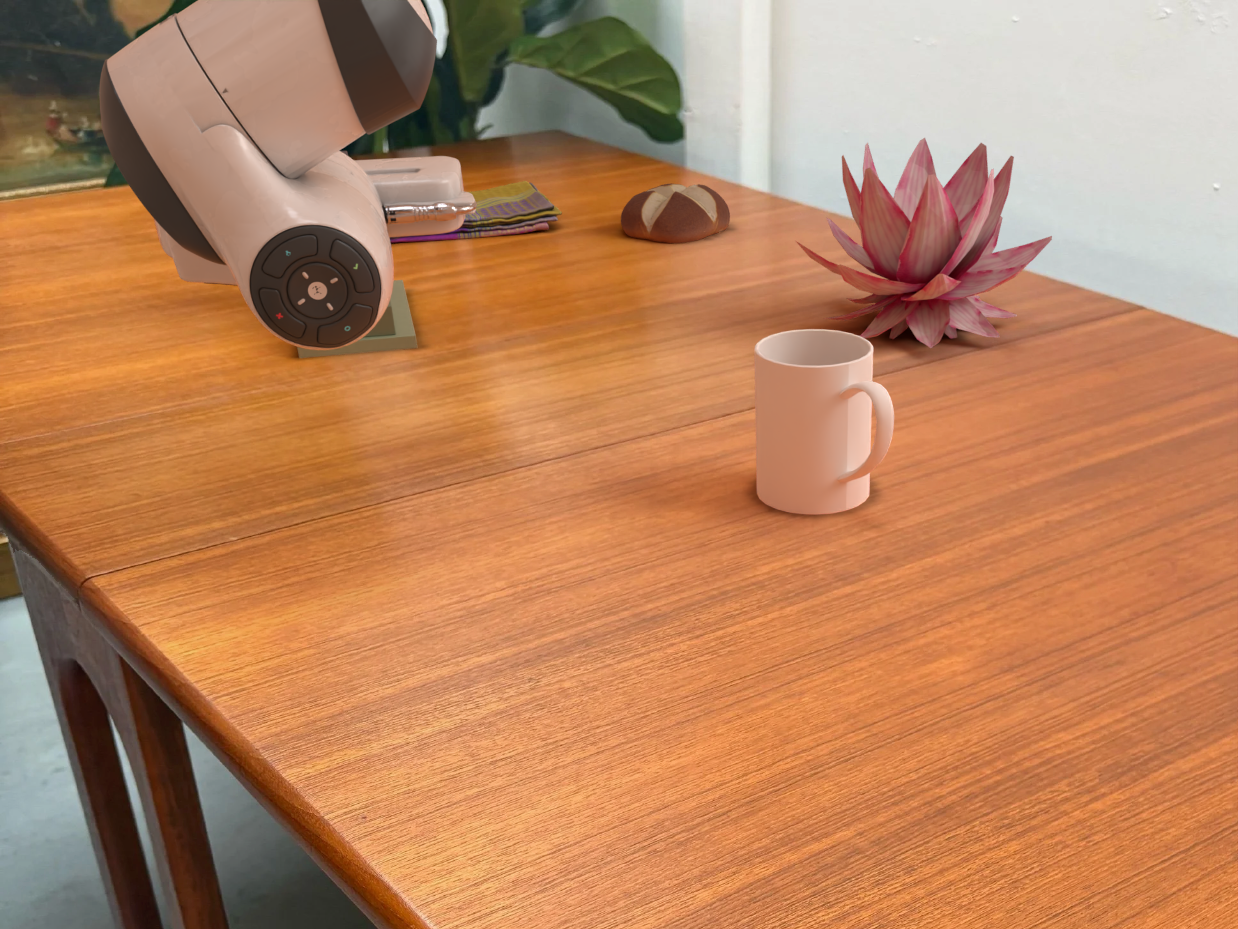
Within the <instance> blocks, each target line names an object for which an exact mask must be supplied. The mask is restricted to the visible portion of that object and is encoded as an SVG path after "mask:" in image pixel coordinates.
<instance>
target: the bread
mask: <svg viewBox="0 0 1238 929" xmlns="http://www.w3.org/2000/svg"><path fill="white" fill-rule="evenodd" d="M730 221H731V212H730V208H729V206H728V204H727V202H726V201H725V199H724V198H723V197H722V196H721V195H720V194H719V193H718V191H717V192H716V190H714V189H712V188H711V187H709V186H707V185H705V184H699V183H698V184H692V185H689V186H686V185H683V184H680V183H665V184H660V185H657V186H656V187H652V188H649V189H647V190H645V191H642V192H639V193H637V194H635V195H634V196H632V197H631V198H630V199H629V201H628V202H626V204H625V206H624V207H623V209H622V211H621V215H620V225H621V227H622V230H623V231H624V233H625V235H627V236H628V237H630V238H633V239H640V240H649V241H653V242H656V243H657V242H658V243H663V244H664V243H665V244H685V243H690V242H691V243H692V242H696V241H700V240H703V239H705V238H707V237H710V236H713V235H716V234H720V233H721V232H723V231H725V230H726V229H727V228H728V227H729V223H730Z"/></svg>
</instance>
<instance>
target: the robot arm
mask: <svg viewBox="0 0 1238 929" xmlns="http://www.w3.org/2000/svg"><path fill="white" fill-rule="evenodd" d="M437 46H438V39H437V38H436V36H435V35H434V30H433V27H432V24H431V20H430V18H429V15H428V13H427V11H426V8H425V7H424V3H423V2H422V0H196V1H195V2H193V3H192V4H190V5H188V6H187V7H186V8H184V9H183V10H181V11H179V12H178V13H176V12H174V13H173V14H171V15H169V16H168V17H166V18H165V19H164V20H163V21H161V22H158V23H157V24H156V25H154V26H153V27H151V28H150V29H148V30H147V31H145V32H143V33H142V34H141V35H140V36H138V37H137V38H135V39H134V40H132V41H131V42H129V43H128V44H127V45H125V46H124V47H122V48H121V49H120V50H119V51H117V52H116V53H114V54H113V55H112V56H110V57H109V58H106V59H105V60H104V62H103V65H102V69H101V73H100V79H99V92H98V94H99V111H100V122H101V130H102V133H103V137H104V140H105V143H106V146H107V148H108V150H109V153H110V155H111V157H112V158H113V161H114V163H115V165H116V166H117V168H118V170H119V172H120V173H121V176H122V177H123V178H124V180H125V182H126V183H127V185H128V186H129V188H130V189H131V190H132V192H133V193H134V195H135V196H136V198H137V200H139V202H140V203H141V204H142V206H143V207H144V208H145V209H146V211H147V212H148V213H149V215H150V216H151V217H152V218H153V221H154V225H155V229H156V230H155V231H156V234H157V237H158V241H159V244H160V246H161V248H162V251H163V252H164V253H165V255H167V256H168V257H169V258H172V260H173V263H174V266H175V268H176V271H177V274H178V276H179V279H181V280H182V281H184V282H187V283H199V284H207V285H208V284H209V285H210V284H211V285H224V286H236V287H238V289H239V292H240V294H241V296H242V298H243V300H244V302H245V303H246V305H247V307H248V308H249V310H250V311H251V313H252V314H253V315H254V317H255V318H256V320H257V321H258V322H259V323H260V325H262V326H263V328H265V330H267V331H268V332H269V333H270V334H271V335H273V336H275V337H276V338H277V339H279V340H281V341H283V342H284V343H287V344H289V345H291V346H294V347H296V348H297V347H300V348H304V349H310V350H330V349H336V348H341V347H344V346H347V345H350V344H352V343H354V342H356V341H358V340H360V339H361V338H363V337H364V336H365V335H367V334H368V333H369V332H370V331H371V330H372V329H373V328H374V327H375V325H376V324H377V323H378V321H379V320H380V319H381V317H382V316H383V314H384V312H385V310H386V308H387V306H388V304H389V301H390V298H391V294H392V290H393V281H394V280H395V268H394V266H395V264H394V255H393V254H394V253H393V248H392V247H393V246H392V243H391V242H390V238H389V237H401V236H417V235H433V234H441V233H447V232H452V231H455V230H457V229H459V228H460V227H461V226H462V224H463V222H464V220H465V216H466V214H473V213H475V211H476V207H477V203H476V201H475V199H474V197H473V195H472V194H471V193H469V192H470V191H465V188H464V181H463V174H462V167H461V166H462V165H461V162H460V160H459V159H457V158H455V157H452V156H446V155H435V156H434V155H433V156H416V157H396V158H395V157H394V158H375V159H374V158H373V159H357V160H355V159H352V157H350V156H349V155H348V156H347V155H346V154H344V153H342V152H341V151H342V149H344V148H346V147H347V146H349V145H350V144H352V143H353V142H355V141H357V140H358V139H360V138H361V137H363V136H364V135H365V134H367V135H368V136H370V135H371V134H374V133H375V132H377V131H379V130H381V129H383V128H385V127H387V126H389V125H390V124H393V123H395V122H396V121H399V120H401V119H402V118H405V117H406V116H408V115H410V114H412V113H414V112H416V111H418V110H419V109H420V108H421V107H422V105H423V102H424V100H425V98H426V95H427V93H428V89H429V86H430V83H431V80H432V76H433V71H434V68H435V62H436V56H437V55H436V54H437Z"/></svg>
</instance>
